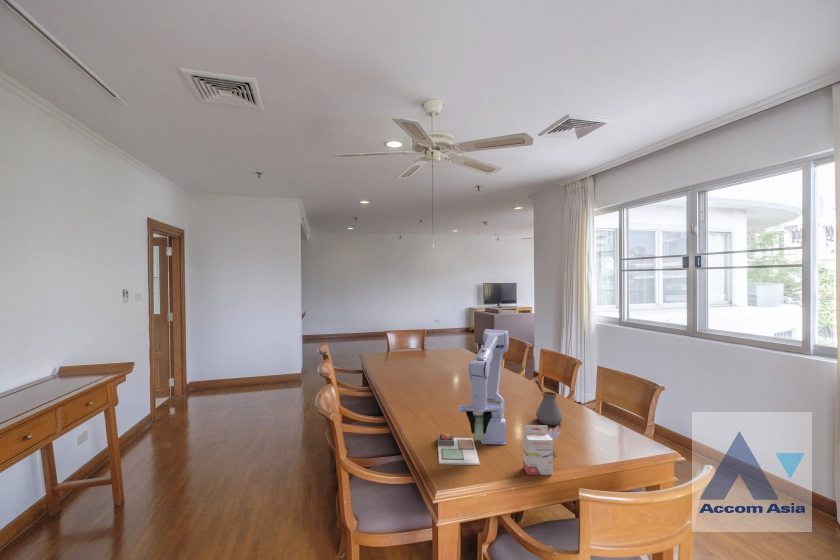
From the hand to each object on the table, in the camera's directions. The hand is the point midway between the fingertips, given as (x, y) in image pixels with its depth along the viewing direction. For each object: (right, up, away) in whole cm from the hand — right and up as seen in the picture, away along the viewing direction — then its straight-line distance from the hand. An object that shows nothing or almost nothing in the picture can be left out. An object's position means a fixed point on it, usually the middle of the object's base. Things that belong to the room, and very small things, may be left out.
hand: (478, 432), depth 131 cm
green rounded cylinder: (0, -2, 0) cm, 2 cm away
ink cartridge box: (+19, -10, -8) cm, 23 cm away
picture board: (-7, -9, +6) cm, 13 cm away
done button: (-11, -8, +12) cm, 18 cm away
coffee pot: (+37, -10, +39) cm, 55 cm away
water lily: (+26, -10, +7) cm, 29 cm away
